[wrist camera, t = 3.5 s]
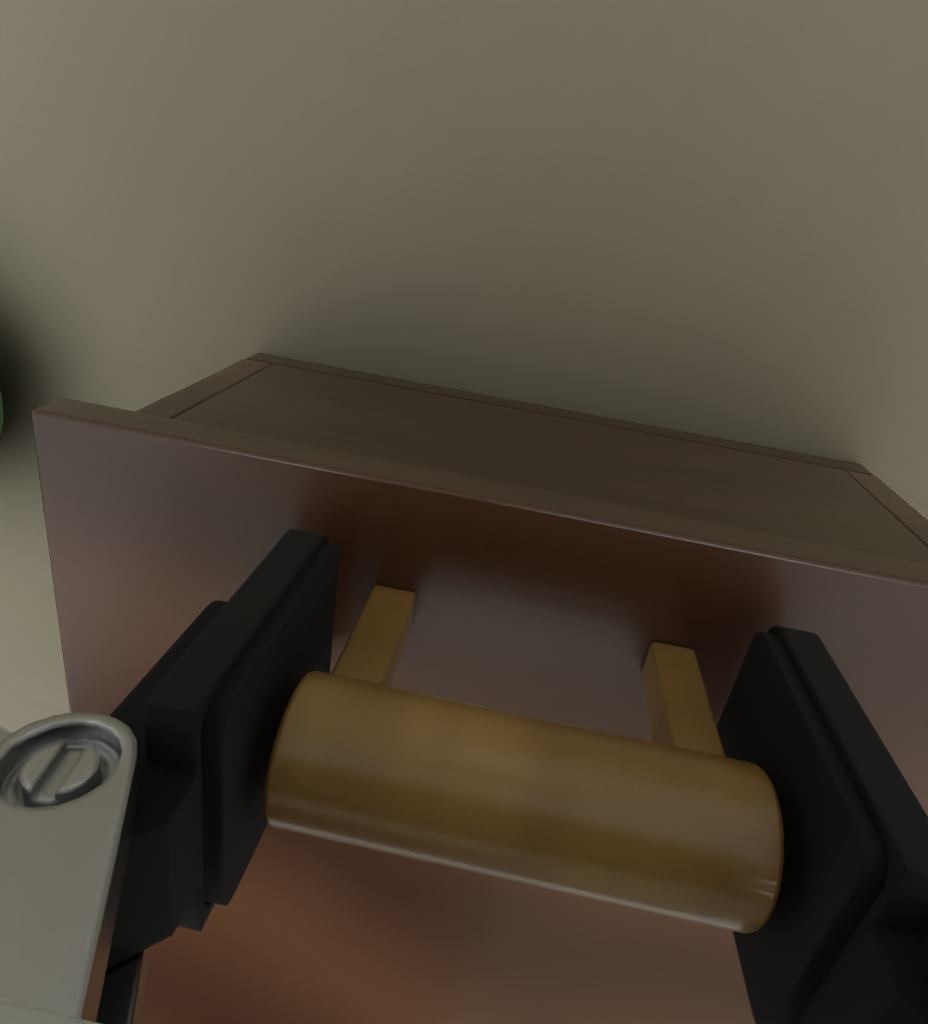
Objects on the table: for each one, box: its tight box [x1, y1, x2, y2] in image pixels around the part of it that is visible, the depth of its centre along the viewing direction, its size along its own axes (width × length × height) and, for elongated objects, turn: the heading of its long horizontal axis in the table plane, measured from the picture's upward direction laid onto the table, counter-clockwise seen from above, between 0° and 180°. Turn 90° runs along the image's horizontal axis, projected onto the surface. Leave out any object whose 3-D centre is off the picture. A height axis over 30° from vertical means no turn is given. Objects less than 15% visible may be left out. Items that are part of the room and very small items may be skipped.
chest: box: [135, 353, 928, 564], centre depth 18 cm, size 17×17×8 cm
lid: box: [31, 398, 928, 1024], centre depth 12 cm, size 17×17×5 cm
